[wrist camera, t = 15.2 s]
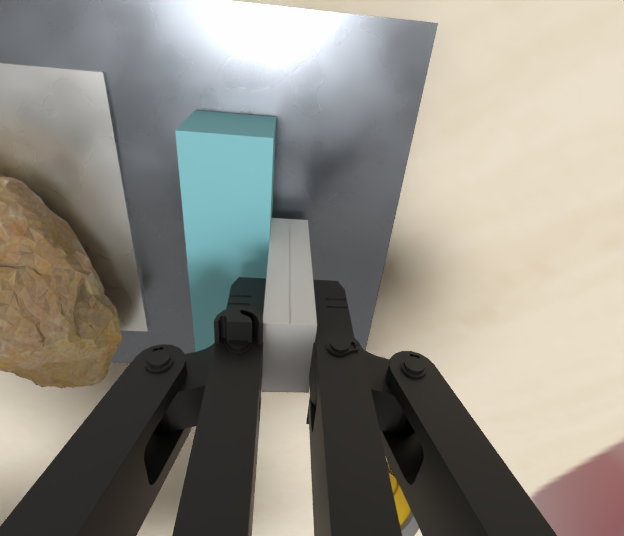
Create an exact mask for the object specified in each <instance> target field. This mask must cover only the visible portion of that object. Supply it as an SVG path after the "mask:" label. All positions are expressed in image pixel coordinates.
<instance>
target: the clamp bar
mask: <svg viewBox="0 0 624 536" xmlns="http://www.w3.org/2000/svg"><path fill="white" fill-rule="evenodd" d="M175 133H176V144H177V155H178V166H179V177H180V188H181V199H182V210H183V220H184V231H185V242H186V253H187V264H188V275H189V286H190V297H191V308H192V319H193V330H194V341H195V352H197V351H200V350H203V349H206V348H208V347H210V346H211V345H212V344H214V343H215V338H214V319H215V318H216V316H217V315H218V314H219V313H220V312H222V311H223V310H226V307H227V303H228V298H229V293H230V288H231V285H232V284H233V283H234V282H235V281H236V280H237V279H238V277H249V278H266V277H267V265H268V254H269V242H270V231H271V220H272V210H273V185H274V160H275V135H276V117H271V116H259V115H247V114H235V113H223V112H211V111H199V110H195V111H194V112H193V113H192V114H191V115H190V116H189V117H188V118H187V119H186V120H185V121H184V122H183V123H182V124H181V125H180V126H179V127H178V128H177V129H176V130H175Z"/></svg>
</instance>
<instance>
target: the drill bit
mask: <svg viewBox="0 0 624 536" xmlns="http://www.w3.org/2000/svg"><path fill="white" fill-rule="evenodd" d="M389 476H390V481H391V486H392V490H393V495H394V500H395V504H396V509H397V514H398V518H399V523H400V528H401V532H402V536H414V535H415V534H416V533H417V531H418V529H419V526H418V524H417V522H416V520H415V518H414V516H413V513H412V511H411V509H410V507H409V505H408V503H407V501H406V499H405V496H404V494H403V492H402V490H401V488H400V486H399V484H398V481H397V479H396V477H394V476H393V475H391V474H390V473H389Z"/></svg>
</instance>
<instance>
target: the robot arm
mask: <svg viewBox="0 0 624 536" xmlns="http://www.w3.org/2000/svg"><path fill="white" fill-rule="evenodd" d="M214 338H215V343H214V344H212V345H211V346H210V347H208V348H206V349H203V350H200V351H197V352H192V353H187V354H185V353H184V352H183V351H182V350H181V349H180V348H179V347H176V346H174V345H168V344H160V345H155V346H151V347H149V348H147V349H145V350H143V351H142V352H141V353H139V354H138V355H137V356H136V357H135V358H134V360H133V361H132V362H131V363H130V365H129V366H128V367H127V368H126V370H125V371H124V372H123V373H122V375H121V376H120V377H119V378H118V380H117V381H116V382H115V383H114V385H113V386H112V387H111V388H110V390H109V391H108V392H107V393H106V395H105V396H104V397H103V398H102V400H101V401H100V402H99V403H98V405H97V406H96V407H95V409H94V410H93V411H92V412H91V414H90V415H89V416H88V417H87V419H86V420H85V421H84V422H83V424H82V425H81V426H80V427H79V429H78V430H77V431H76V432H75V434H74V435H73V436H72V437H71V439H70V440H69V441H68V442H67V444H66V445H65V446H64V447H63V449H62V450H61V451H60V452H59V454H58V455H57V456H56V457H55V459H54V460H53V461H52V462H51V464H50V465H49V466H48V467H47V469H46V470H45V471H44V472H43V474H42V475H41V476H40V477H39V479H38V480H37V481H36V482H35V484H34V485H33V486H32V487H31V489H30V490H29V491H28V492H27V494H26V495H25V496H24V497H23V499H22V500H21V501H20V502H19V504H18V505H17V506H16V507H15V509H14V510H13V511H12V513H11V514H10V515H9V516H8V518H7V519H6V520H5V521H4V523H3V524H2V525H1V526H0V536H136V535H137V533H138V531H139V529H140V527H141V525H142V523H143V521H144V520H145V518H146V516H147V514H148V512H149V510H150V508H151V506H152V504H153V502H154V500H155V498H156V496H157V494H158V493H159V491H160V489H161V487H162V485H163V483H164V481H165V479H166V477H167V475H168V473H169V471H170V469H171V467H172V466H173V464H174V462H175V460H176V458H177V456H178V454H179V452H180V450H181V448H182V446H183V444H184V442H185V440H186V439H187V437H188V435H189V433H190V431H191V427H193V426H197V427H196V431H195V436H194V440H193V445H192V449H191V454H190V458H189V463H188V467H187V472H186V477H185V481H184V486H183V490H182V495H181V499H180V504H179V508H178V513H177V517H176V522H175V526H174V531H173V535H172V536H251V535H252V521H253V507H254V492H255V478H256V464H257V450H258V435H259V421H260V407H261V391H262V392H306V393H309V385H310V400H309V407H308V415H307V423H306V424H309V430H310V451H311V473H312V495H313V517H314V536H402V532H401V528H400V523H399V518H398V514H397V509H396V504H395V500H394V495H393V490H392V486H391V481H390V476H389V472H388V467H387V462H386V458H387V460H388V462H389V464H390V467H391V469H392V471H393V473H394V475H395V477H396V479H397V481H398V484H399V486H400V488H401V490H402V492H403V494H404V496H405V499H406V501H407V503H408V505H409V507H410V509H411V511H412V513H413V516H414V518H415V520H416V522H417V524H418V526H419V528H420V530H421V533H422V535H423V536H557V535H556V534H555V532H554V531H553V529H552V528H551V527H550V525H549V524H548V523H547V521H546V520H545V518H544V517H543V516H542V514H541V513H540V511H539V510H538V509H537V507H536V506H535V504H534V503H533V502H532V500H531V499H530V497H529V496H528V495H527V493H526V492H525V490H524V489H523V488H522V486H521V485H520V484H519V482H518V481H517V479H516V478H515V477H514V475H513V474H512V472H511V471H510V470H509V468H508V467H507V465H506V464H505V463H504V461H503V460H502V458H501V457H500V456H499V454H498V453H497V452H496V450H495V449H494V447H493V446H492V445H491V443H490V442H489V440H488V439H487V438H486V436H485V435H484V433H483V432H482V431H481V429H480V428H479V426H478V425H477V424H476V422H475V421H474V420H473V418H472V417H471V415H470V414H469V413H468V411H467V410H466V408H465V407H464V406H463V404H462V403H461V401H460V400H459V399H458V397H457V396H456V394H455V393H454V392H453V390H452V389H451V388H450V386H449V385H448V383H447V382H446V381H445V379H444V378H443V376H442V375H441V374H440V372H439V371H438V369H437V368H436V367H435V365H434V364H433V363H432V362H431V361H430V360H429V359H428V358H426V357H425V356H423V355H421V354H419V353H415V352H412V351H401V352H398V353H395V354H394V355H393V356H392V357H391V358H390V360H389V359H385V358H382V357H378V356H375V355H373V354H370V353H368V352H367V351H365V350H364V349H362V347H361V345H360V343H359V342H358V341H357V340H356V339H355V337H354V333H353V328H352V323H351V318H350V313H349V309H348V303H347V298H346V293H345V289H344V288H343V287H342V286H341V284H340V283H339V282H338V281H330V280H313V273H312V262H311V250H310V239H309V228H308V220H298V219H282V218H272V220H271V231H270V242H269V254H268V265H267V277H266V278H249V277H238V279H237V280H236V281H235V282H234V283H233V284H232V285H231V288H230V293H229V298H228V303H227V307H226V310H223V311H222V312H220V313H219V314H218V315H217V316H216V318H215V319H214ZM385 456H386V457H385Z"/></svg>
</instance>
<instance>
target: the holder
mask: <svg viewBox="0 0 624 536" xmlns="http://www.w3.org/2000/svg"><path fill="white" fill-rule="evenodd" d="M437 25H438V23H431V22H422V21H413V20H403V19H394V18H385V17H376V16H366V15H357V14H348V13H339V12H329V11H320V10H311V9H302V8H293V7H283V6H274V5H265V4H256V3H246V2H237V1H228V0H0V177H10V178H14V179H17V180H19V181H22V182H23V183H24V184H25V185H26V186H27V187H28V188H29V189H30V190H32V191H33V192H34V193H35V194H36V195H37V196H39V197H41V199H42V201H43V202H44V204H45V205H46V206H47V207H48V208H49V209H50V210H51V211H52V212H54V213H55V214H56V215H58V216H59V217H60V218H62V219H64V220H65V221H67V222H68V224H69V225H70V227H71V228H72V230H73V231H74V233H75V234H76V236H77V238H78V240H79V242H80V244H81V245H82V247H83V249H84V250H85V252H86V254H87V256H88V257H89V259H90V261H91V263H92V267H93V268H94V269H95V271H96V273H97V274H98V275H99V278H100V281H101V283H102V285H103V287H104V288H105V289H104V295H106V296H107V297H108V298H109V299H110V301H111V303H112V304H113V305H114V306H116V309H117V312H118V316H119V323H120V332H121V335H122V342H121V343H120V344H118V345H117V351H116V352H115V354H114V356H113V358H112V360H111V362H125V363H131V362H132V361H133V360H134V358H135V357H136V356H137V355H138V354H139V353H141V352H142V351H143V350H145V349H147V348H149V347H151V346H155V345H160V344H168V345H174V346H176V347H179V348H180V349H181V350H182V351H183V352H184V353H185V354H187V353H192V352H195V341H194V330H193V319H192V308H191V297H190V286H189V275H188V264H187V253H186V242H185V231H184V220H183V210H182V199H181V188H180V177H179V166H178V155H177V144H176V133H175V130H176V129H177V128H178V127H179V126H180V125H181V124H182V123H183V122H184V121H185V120H186V119H187V118H188V117H189V116H190V115H191V114H192V113H193V112H194V111H195V110H199V111H211V112H223V113H235V114H247V115H259V116H271V117H276V135H275V160H274V185H273V210H272V218H282V219H298V220H308V228H309V239H310V250H311V262H312V273H313V280H330V281H338V282H339V283H340V284H341V286H342V287H343V288H344V289H345V293H346V298H347V303H348V309H349V313H350V318H351V323H352V328H353V333H354V337H355V339H356V340H357V341H358V342H359V343H360V345H361V347H362V349H364V350H366V345H367V341H368V336H369V332H370V327H371V323H372V318H373V314H374V309H375V305H376V300H377V296H378V291H379V287H380V282H381V278H382V273H383V269H384V264H385V260H386V255H387V251H388V246H389V241H390V237H391V232H392V228H393V223H394V219H395V214H396V210H397V205H398V201H399V196H400V192H401V187H402V183H403V178H404V174H405V169H406V165H407V160H408V156H409V151H410V147H411V142H412V138H413V133H414V129H415V124H416V120H417V115H418V111H419V106H420V102H421V97H422V93H423V88H424V84H425V79H426V75H427V70H428V66H429V61H430V57H431V52H432V48H433V43H434V39H435V34H436V30H437Z"/></svg>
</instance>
